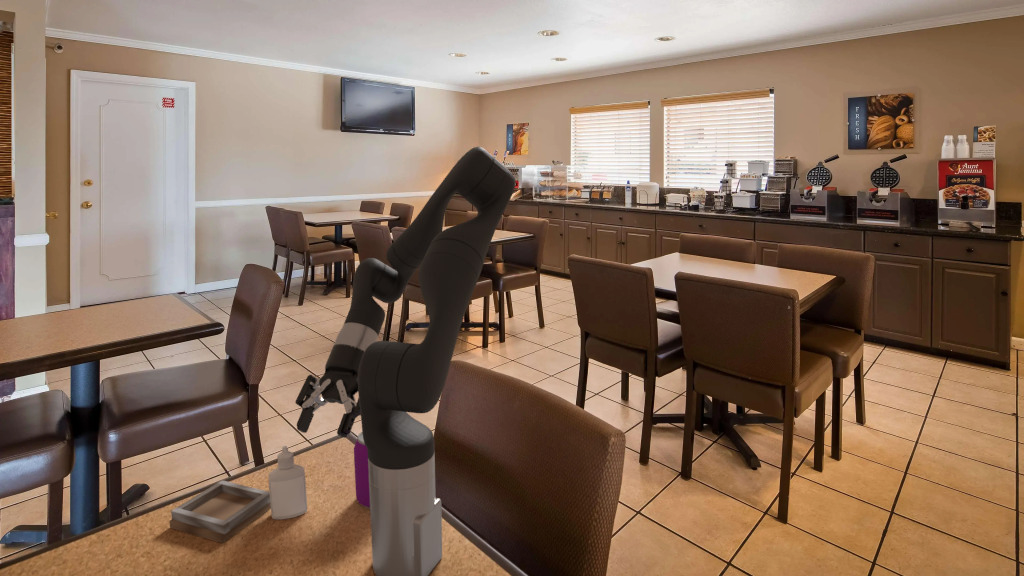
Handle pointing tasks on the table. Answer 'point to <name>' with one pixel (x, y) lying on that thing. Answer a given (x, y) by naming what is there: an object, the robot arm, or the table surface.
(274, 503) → the eye dropper bottle
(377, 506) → the robot arm
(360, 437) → the beverage can
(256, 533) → the table surface
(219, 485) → the grey square tray
